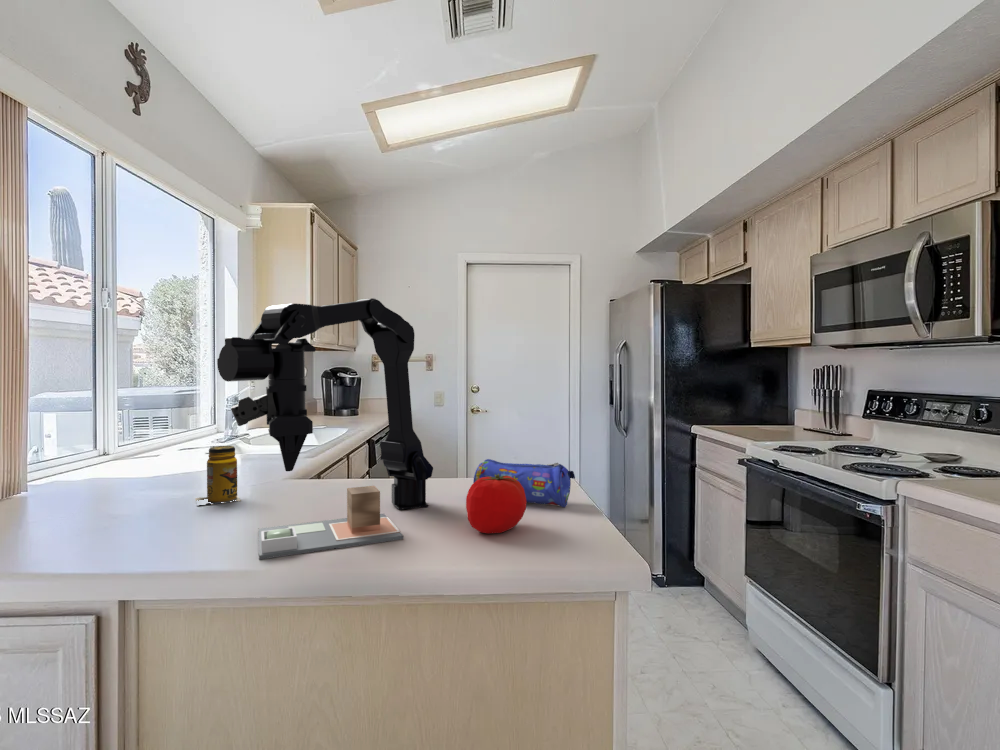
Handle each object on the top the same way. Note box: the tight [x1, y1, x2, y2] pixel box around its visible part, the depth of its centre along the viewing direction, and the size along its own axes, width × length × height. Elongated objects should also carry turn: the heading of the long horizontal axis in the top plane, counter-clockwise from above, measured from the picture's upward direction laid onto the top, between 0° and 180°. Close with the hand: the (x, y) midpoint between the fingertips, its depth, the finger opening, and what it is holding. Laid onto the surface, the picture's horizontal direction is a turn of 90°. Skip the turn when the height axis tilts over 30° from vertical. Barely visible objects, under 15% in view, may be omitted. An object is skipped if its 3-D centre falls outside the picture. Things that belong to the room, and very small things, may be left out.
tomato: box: [465, 475, 528, 535], centre depth 98 cm, size 11×13×10 cm
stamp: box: [346, 485, 381, 534], centre depth 96 cm, size 5×5×7 cm
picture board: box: [257, 513, 404, 560], centre depth 94 cm, size 23×15×3 cm, turn 115°
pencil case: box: [472, 458, 576, 508], centre depth 117 cm, size 22×9×10 cm, turn 69°
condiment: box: [194, 445, 241, 503], centre depth 118 cm, size 7×8×12 cm
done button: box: [267, 529, 290, 539], centre depth 87 cm, size 4×4×2 cm
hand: (288, 470), depth 89 cm, fingers closed
